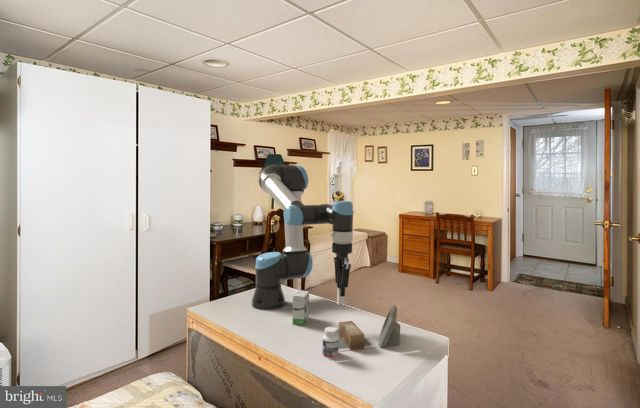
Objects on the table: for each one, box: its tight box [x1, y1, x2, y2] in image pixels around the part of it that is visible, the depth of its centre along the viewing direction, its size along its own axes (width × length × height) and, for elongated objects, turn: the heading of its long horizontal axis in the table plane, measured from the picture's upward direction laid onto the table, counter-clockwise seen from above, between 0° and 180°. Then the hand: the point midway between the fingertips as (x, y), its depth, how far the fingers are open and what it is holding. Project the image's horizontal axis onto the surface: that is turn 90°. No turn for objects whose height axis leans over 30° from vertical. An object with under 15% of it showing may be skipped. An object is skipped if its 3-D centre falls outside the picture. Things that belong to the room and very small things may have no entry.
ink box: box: [292, 289, 310, 326], centre depth 145 cm, size 9×5×12 cm, turn 168°
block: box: [338, 320, 365, 351], centre depth 127 cm, size 5×5×12 cm
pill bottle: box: [322, 326, 340, 359], centre depth 117 cm, size 5×5×9 cm
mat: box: [337, 329, 374, 352], centre depth 129 cm, size 17×12×1 cm
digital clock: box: [377, 305, 401, 349], centre depth 129 cm, size 16×9×11 cm, turn 154°
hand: (341, 303), depth 137 cm, fingers closed
